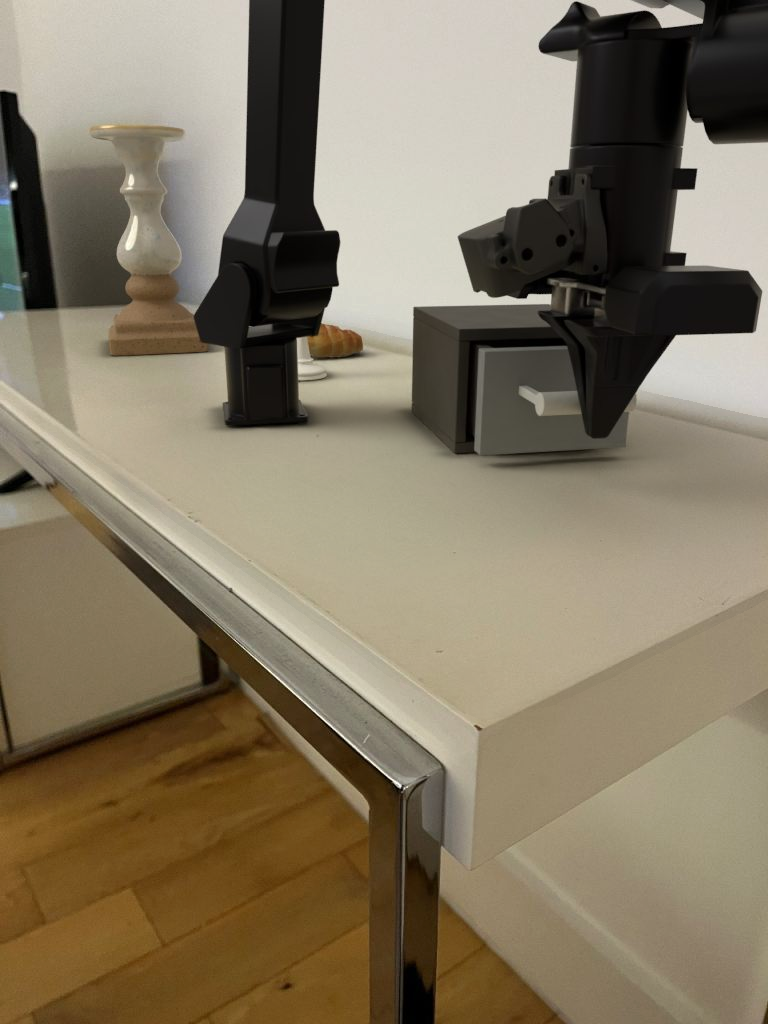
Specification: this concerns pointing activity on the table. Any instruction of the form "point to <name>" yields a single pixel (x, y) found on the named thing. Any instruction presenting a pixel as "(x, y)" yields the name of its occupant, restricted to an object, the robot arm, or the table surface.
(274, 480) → the table surface
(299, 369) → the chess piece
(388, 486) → the table surface
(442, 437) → the small drawer cabinet
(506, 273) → the robot arm
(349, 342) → the pastry
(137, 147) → the candle holder
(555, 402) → the drawer
